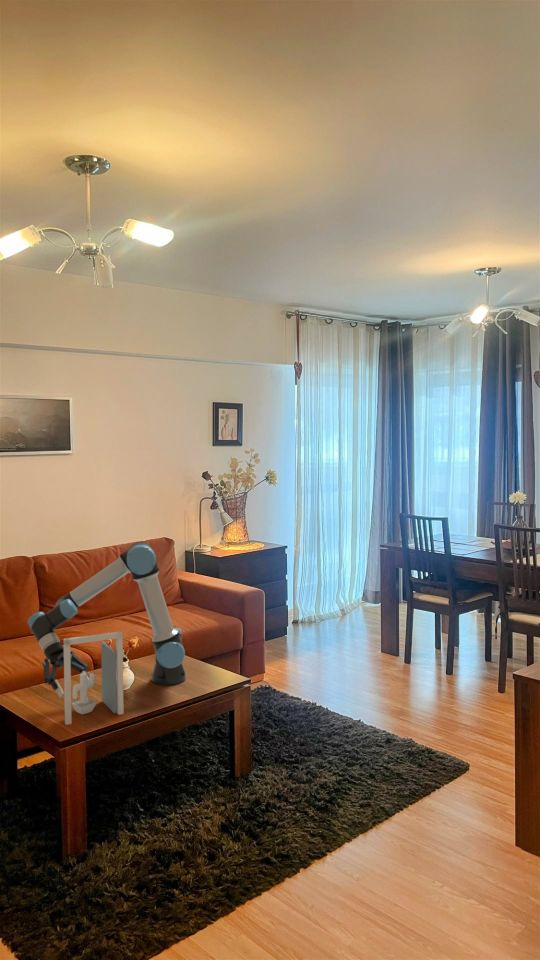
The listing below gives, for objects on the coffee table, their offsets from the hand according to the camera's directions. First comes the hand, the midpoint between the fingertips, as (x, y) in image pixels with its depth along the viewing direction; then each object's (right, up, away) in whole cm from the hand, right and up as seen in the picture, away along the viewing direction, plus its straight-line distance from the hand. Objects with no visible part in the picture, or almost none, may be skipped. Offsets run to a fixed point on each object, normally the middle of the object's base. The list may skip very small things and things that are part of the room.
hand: (76, 690), depth 273 cm
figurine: (+3, -8, -1) cm, 9 cm away
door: (+13, -7, +3) cm, 15 cm away
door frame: (+9, -8, -8) cm, 15 cm away
